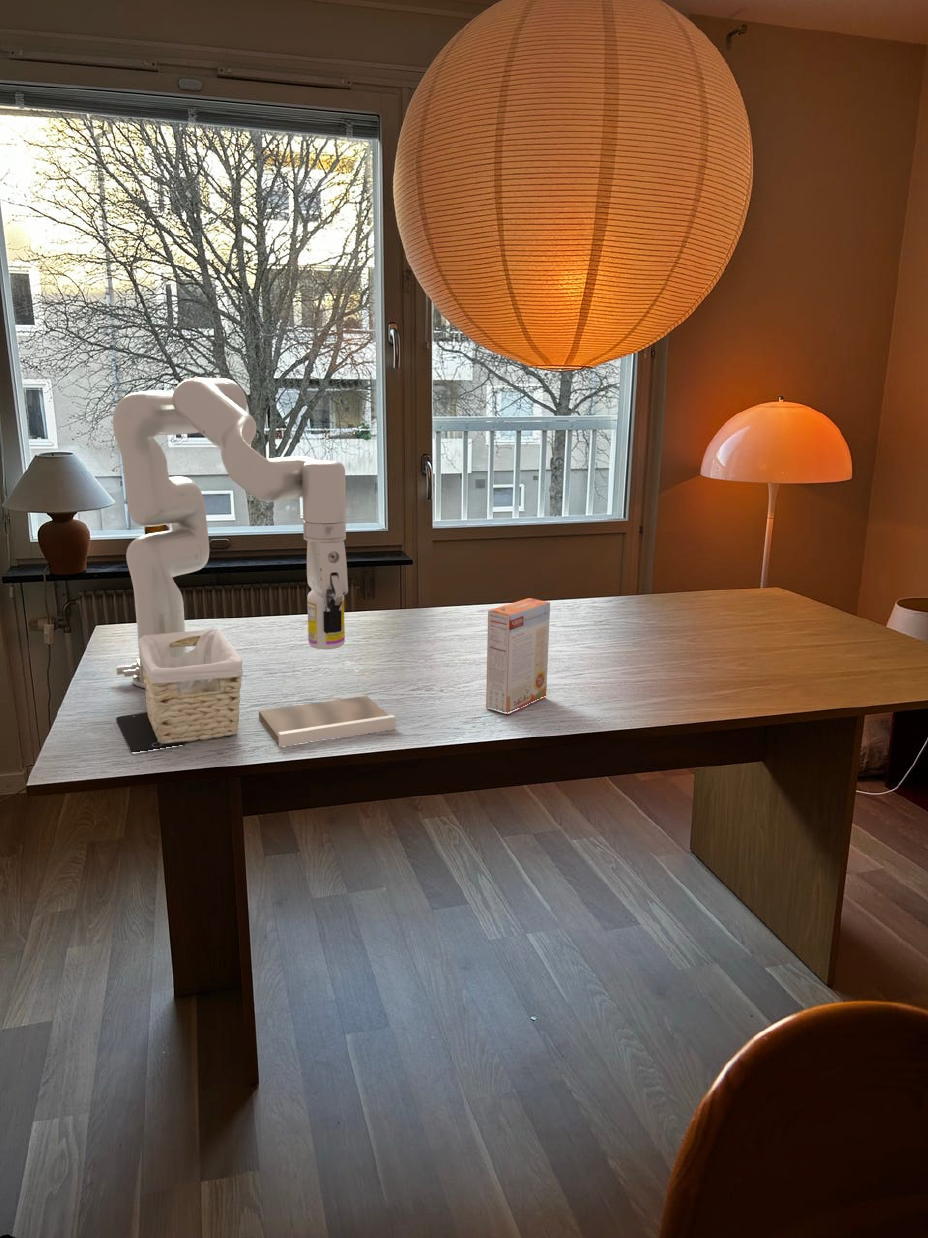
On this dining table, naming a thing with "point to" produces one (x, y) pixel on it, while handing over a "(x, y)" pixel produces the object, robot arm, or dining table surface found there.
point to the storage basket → (191, 685)
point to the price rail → (337, 730)
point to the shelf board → (319, 714)
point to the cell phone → (140, 733)
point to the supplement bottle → (322, 623)
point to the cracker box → (517, 654)
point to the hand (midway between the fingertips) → (326, 625)
